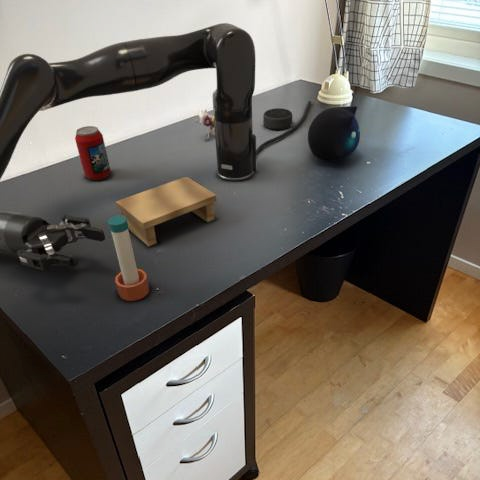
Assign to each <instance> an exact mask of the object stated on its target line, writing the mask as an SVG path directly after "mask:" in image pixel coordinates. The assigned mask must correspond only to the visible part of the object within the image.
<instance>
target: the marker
mask: <svg viewBox="0 0 480 480" xmlns="http://www.w3.org/2000/svg"><path fill="white" fill-rule="evenodd" d="M107 222H108V227H109V230H110V232H111V233H110V234H111V237H112V240H113V245H114V248H115V252H116V256H117V260H118V264H119V268H120V272H121V273H122V277H123V281H124V284H125V285H126V286H130V285H135V284H137V283H140V280H139V276H138V271H137V269H138V268H137V263H136V258H135V254H134V249H133V245H132V239H131V235H130V230H129V229H128V223H127V219H126V217H124V216H122V215H115V216H112V217H110V218H109V219H108V221H107Z"/></svg>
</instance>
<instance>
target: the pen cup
mask: <svg viewBox="0 0 480 480" xmlns="http://www.w3.org/2000/svg"><path fill="white" fill-rule="evenodd" d="M137 271H138V276H139V280H140V283H137V284H135V285H130V286H126V285H125V284H124V281H123V277H122V273H121V271H120V272H119V273H118V274H116V276H115V278H114V279H115V280H114V283H115V286H116V290H117V293H118V296H119V297H120V299H122V300H124V301H128V302H134V301H139V300H141V299H143V298H145V297H146V296H147V295H148V294H149V292H150V285H149V280H148V274H147V273H146V272H145V271H144V269H140V268H137Z"/></svg>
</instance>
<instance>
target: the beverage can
mask: <svg viewBox="0 0 480 480" xmlns="http://www.w3.org/2000/svg"><path fill="white" fill-rule="evenodd" d="M74 140H75V142H76V143H75V144H76V148H77V152H78V156H79V159H80V162H81V166H82V171H83V173H84V176H85V177H86V178H87V179H89V180H92V181H101V180H104V179H106V178H107V177H109V175H111V166H110V161H109V157H108V152H107V149H106V148H107V147H106V144H105V139H104V135H103V134H102V132H101V130H100V129H99V127H97V126H95V125H87V126H82V127H79V128H78V129H76V132H75V137H74Z"/></svg>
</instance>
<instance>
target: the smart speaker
mask: <svg viewBox="0 0 480 480" xmlns="http://www.w3.org/2000/svg"><path fill="white" fill-rule="evenodd" d="M262 120H263V121H262V123H263V124H262V125H263V126H264V127H265V128H267V129H269V130H273V131H280V130H281V131H282V130H286V129H288V128H290V127H291V126H292V125H293V113H292V111H290V110H289V109H286V108H281V107H279V108H277V107H276V108H271V109H267V110H266V111H265V112H264V113H263V117H262Z"/></svg>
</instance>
